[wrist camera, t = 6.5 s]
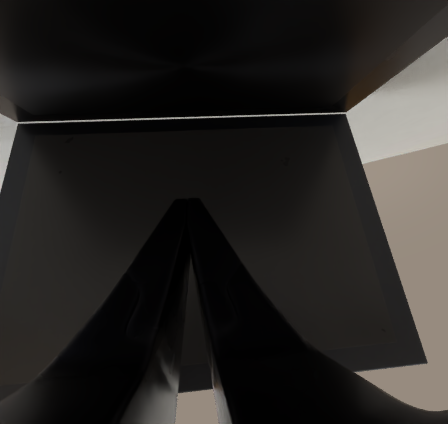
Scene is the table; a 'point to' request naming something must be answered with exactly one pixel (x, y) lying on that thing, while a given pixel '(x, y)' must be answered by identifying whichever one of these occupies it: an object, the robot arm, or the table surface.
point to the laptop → (205, 55)
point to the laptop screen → (224, 217)
